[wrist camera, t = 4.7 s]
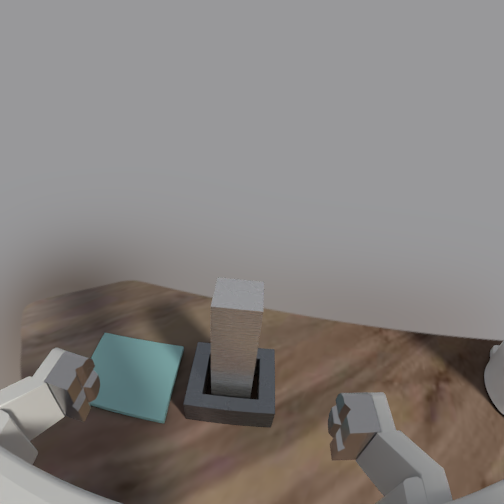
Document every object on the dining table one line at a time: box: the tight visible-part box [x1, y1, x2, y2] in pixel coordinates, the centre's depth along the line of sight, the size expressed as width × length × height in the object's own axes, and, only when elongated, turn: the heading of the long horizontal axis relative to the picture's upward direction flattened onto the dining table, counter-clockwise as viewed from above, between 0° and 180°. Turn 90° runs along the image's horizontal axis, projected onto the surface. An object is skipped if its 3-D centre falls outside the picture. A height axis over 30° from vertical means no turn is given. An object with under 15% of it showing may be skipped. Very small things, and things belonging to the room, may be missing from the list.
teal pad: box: [90, 333, 184, 423], centre depth 31 cm, size 11×11×1 cm
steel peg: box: [211, 277, 264, 399], centre depth 28 cm, size 4×4×14 cm
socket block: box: [184, 342, 275, 427], centre depth 31 cm, size 9×9×3 cm
